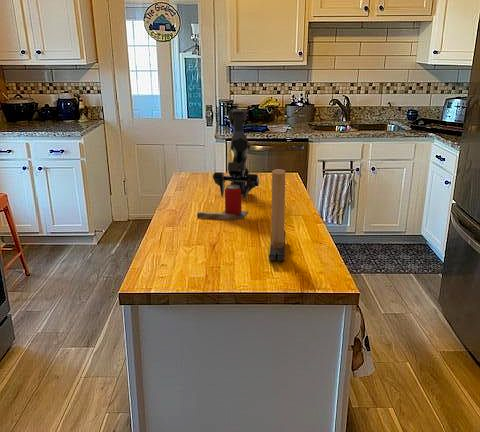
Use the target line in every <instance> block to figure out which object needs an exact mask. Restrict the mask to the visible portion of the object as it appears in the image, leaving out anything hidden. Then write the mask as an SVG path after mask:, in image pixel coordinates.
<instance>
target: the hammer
mask: <svg viewBox="0 0 480 432" xmlns="http://www.w3.org/2000/svg"><path fill="white" fill-rule="evenodd" d="M285 205H286V170H284V169H282V168H281V169H280V168H276V169H272V171H271V232H270V245H269V246H270V247H269V254H268V260H269V261H270V262H271V261H275V262H276V260H277V261H278V262H285V250H286V229H285V219H286V218H285V217H286V216H285V211H286V209H285V207H286V206H285Z"/></svg>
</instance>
